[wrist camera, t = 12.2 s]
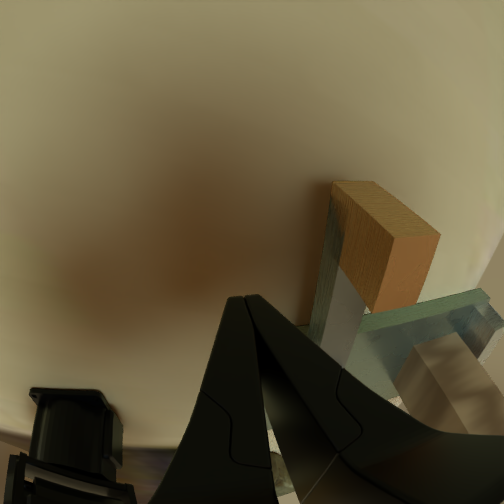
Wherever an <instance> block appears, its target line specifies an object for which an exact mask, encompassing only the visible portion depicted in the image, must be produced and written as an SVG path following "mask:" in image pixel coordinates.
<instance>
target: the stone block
mask: <svg viewBox="0 0 504 504" xmlns="http://www.w3.org/2000/svg"><path fill="white" fill-rule="evenodd" d="M270 456H271V463H272V472H273V478H274V484H275V490H276V494H277V497H279V496H282V495H285V494H288V493H291V492H294V491H295V489H294V487H293V484H292V481H291V479H290V476H289V473H288V471H287V468H286V465H285V463H284V460H283V458H282V457H281V456H279V455H278V454H275V453H271V452H270Z"/></svg>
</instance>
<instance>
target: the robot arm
mask: <svg viewBox="0 0 504 504" xmlns="http://www.w3.org/2000/svg"><path fill="white" fill-rule="evenodd" d="M29 396H30V397H31V398H32V400H33V401H34V402H35V403H36V405H37V411H36V415H35V420H34V426H33V431H32V437H31V443H30V449H29V456H27V454H25V453H22V452H20V455H19V456H18V455H10V458H9V464H8V470H7V478H6V485H5V494H4V504H137V501H136V496H135V492H134V487H133V485H132V484H127V483H125V484H122V483H117V482H116V469H121V468H122V441H123V426H122V424H121V422H120V421H119V419H118V418H117V416H116V415H115V413H114V412H113V411H112V410H111V408H110V407H109V405H108V404H107V402H106V400H105V399H104V397H103V395H102V394H101V393H100V392H97V391H69V390H46V389H30V392H29ZM264 407H265V409H264ZM265 410H266V413H267V416H268V418H269V421H270V424H271V427H272V430H273V432H274V435H275V438H276V441H277V444H278V446H279V449H280V452H281V454H282V457H283V460H284V463H285V465H286V468H287V471H288V473H289V476H290V479H291V481H292V484H293V487H294V489H295V492H296V494H297V497H298V500H299V502H300V504H504V435H478V434H463V433H450V432H444V431H440V430H437V429H434V428H432V427H429V426H427V425H425V424H424V423H422V422H420V421H419V420H417V419H415V418H414V417H412V416H411V415H409V414H407V413H406V412H404V411H403V410H401V409H399V408H398V407H396V406H395V405H393V404H392V403H390V402H389V401H387V400H386V399H384V398H383V397H381V396H380V395H378V394H377V393H375V392H374V391H373V390H371V389H370V388H368V387H367V386H366V385H365V384H363V383H362V382H361V381H359V380H358V379H357V378H356V377H354V376H353V375H352V374H351V373H350V372H348V371H347V370H346V369H345V368H342V366H341V365H340V364H339V363H338V362H336V361H335V360H334V359H333V358H332V357H331V356H329V355H328V354H327V353H326V352H325V351H324V350H322V349H321V348H320V347H319V346H318V345H317V344H315V343H314V342H313V341H312V340H311V339H310V338H309V337H307V336H306V335H305V334H304V333H303V332H302V331H300V330H299V329H298V328H297V327H296V326H295V325H294V324H292V323H291V322H290V321H289V320H288V319H287V318H286V317H284V316H283V315H282V314H281V313H280V312H279V311H278V310H276V309H275V308H274V307H273V306H272V305H271V304H270V303H268V302H267V301H266V300H265V299H264V298H263V297H262V296H260V295H259V294H253V295H245V296H244V297H243V296H234V297H229V298H228V299H227V302H226V305H225V308H224V312H223V315H222V318H221V322H220V325H219V328H218V331H217V335H216V338H215V341H214V345H213V348H212V351H211V355H210V358H209V361H208V364H207V368H206V371H205V374H204V378H203V381H202V384H201V388H200V392H199V394H198V397H197V401H196V404H195V407H194V410H193V413H192V416H191V418H190V421H189V424H188V426H187V428H186V431H185V433H184V435H183V438H182V440H181V442H180V444H179V446H178V448H177V450H176V452H175V454H174V456H173V458H172V461H171V463H170V465H169V467H168V469H167V471H166V473H165V475H164V477H163V479H162V481H161V483H160V485H159V486H158V488H157V490H156V492H155V493H154V495H153V496H152V498H151V499H150V501H149V502H148V503H147V504H279V502H278V498H277V494H276V490H275V484H274V478H273V472H272V463H271V456H270V448H269V440H268V432H267V424H266V417H265ZM25 477H28V478H31V479H33V483H32V482H29V481H26V480H24V478H25Z"/></svg>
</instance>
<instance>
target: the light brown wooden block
mask: <svg viewBox="0 0 504 504" xmlns="http://www.w3.org/2000/svg"><path fill="white" fill-rule="evenodd" d="M440 235H441V234H440V233H439V232H437V231H436V230H435V229H434V228H433V227H432V226H430V225H429V224H428V223H427V222H425V221H424V220H423V219H422V218H420V217H419V216H418V215H417V214H416V213H414V212H413V211H412V210H410V209H409V208H408V207H407V206H405V205H404V204H403V203H401V202H400V201H399V200H398V199H396V198H395V197H394V196H392V195H391V194H390V193H388V192H387V191H386V190H384V189H383V188H382V187H380V186H379V185H377V184H376V183H375V182H373V181H332V189H331V197H330V205H329V212H328V219H327V226H326V233H325V239H324V246H323V252H322V258H321V264H320V270H319V276H318V282H317V288H316V293H315V299H314V304H313V309H312V315H311V320H310V325H309V330H308V335H307V337H309V338H310V339H311V340H312V341H313V342H314V343H315V344H317V345H318V346H319V347H320V348H321V349H322V350H324V351H325V352H326V353H327V354H328V355H329V356H331V357H332V358H333V359H334V360H335V361H336V362H338V363H339V364H340V365H341V366H342V368H345V366H346V363H347V360H348V358H349V355H350V352H351V349H352V346H353V344H354V341H355V338H356V335H357V332H358V329H359V326H360V323H361V320H362V317H363V314H364V311H365V307H366V305H367V307H368V308H369V310H370V311H371V313H372V314H373V313H378V312H383V311H388V310H393V309H398V308H402V307H407V306H411V305H416V302H417V300H418V297H419V295H420V292H421V290H422V287H423V284H424V282H425V279H426V276H427V274H428V271H429V268H430V265H431V262H432V260H433V257H434V254H435V251H436V248H437V245H438V241H439V238H440Z"/></svg>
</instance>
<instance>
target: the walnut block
mask: <svg viewBox="0 0 504 504" xmlns="http://www.w3.org/2000/svg"><path fill="white" fill-rule="evenodd" d="M393 385H394V387H395V388H396V390H397V392H398V394H399V396H400V397H401V399H402V401H403V403H404V404H405V406H406V408H407V410H408V412H409V413H410V415H411V416H412V417H414V418H415V419H417V420H419V421H420V422H422V423H424V424H425V425H427V426H429V427H432V428H434V429H437V430H440V431H444V432H450V433H463V434H478V435H504V397H503V395H502V393H501V392H500V391H499V389H498V388H497V386H496V385H495V383H494V382H493V381H492V379H491V378H490V376H489V375H488V373H487V372H486V371H485V369H484V368H483V366H482V365H481V364H480V362H479V361H478V360H477V358H476V357H475V356H474V354H473V353H472V352H471V350H470V349H469V348H468V346H467V345H466V344H465V342H464V341H463V340H462V339H461V337H460V336H459V335H458V333H457V332H454V333H451V334H448V335H445V336H442V337H439V338H436V339H433V340H430V341H427V342H424V343H421V344H417V345H414V346H413V347H412V349H411V351H410V353H409V355H408V357H407V359H406V361H405V363H404V364H403V366H402V368H401V370H400V372H399V373H398V375H397V377H396V379H395V380H394V382H393Z"/></svg>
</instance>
